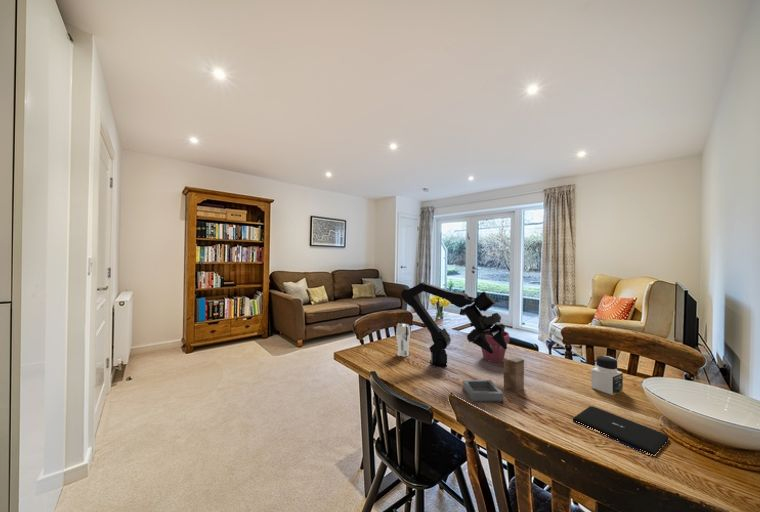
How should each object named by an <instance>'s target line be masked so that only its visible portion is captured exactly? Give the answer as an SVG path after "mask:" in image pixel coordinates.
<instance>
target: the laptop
mask: <svg viewBox="0 0 760 512" xmlns="http://www.w3.org/2000/svg"><path fill="white" fill-rule="evenodd" d="M572 420H573V421H572V423H573V422H575V423H578V422H580V423H578V424H580V425H583V424H584V425H583V426H585V425H586V426H585V427H587V426H589V427H588V428H590V427H591V429H592V428H593V430H594V429H596V430H598V431H600V433H601V432H602V433H601V434H603V433H605V434H603V435H606V434H607V435H606V436H607V437H609V438H611V439H614V440H616V441H619V442H620V443H622V444H624V445H623V446H625V445H626V446H625V447H627V446H629V447H631V448H634V449H636V450H638V451H641V452H644V451H646V452H644V453H647V452H648V454H649V453H650V455H651V454H653V455H655V454H656V453H657V452H658V451H659V449H660V448H661V447H662V446H663V445H664V444H665V442H667V441H668V442H669V440H668V439H669V436H668V435H667V434H666V433H663V432H661V431H659V430H656V429H653V428H651V427H648V426H646V425H644V424H641V423H638V422H636V421H633V420H631V419H628V418H624V417H622V416H619V415H617V414H615V413H612V412H609V411H606V410H604V409H602V408H599V407H595V406H591V405H590V406H588V407H587V408H586V409H584V410H583V411H581V412H579V413H578V414H577V415H575V416H574V417H573V418H572ZM576 421H577V422H576ZM575 423H574V424H575ZM581 423H582V424H581ZM578 424H577V425H578ZM580 425H579V426H580ZM608 435H609V436H608ZM607 437H606V438H607ZM609 438H608V439H609ZM611 439H610V440H611ZM617 439H618V440H617ZM616 441H615V442H616ZM668 442H667V443H668ZM620 443H619V444H620ZM622 444H621V445H622ZM665 445H666V444H665ZM665 445H664V446H665ZM629 447H628V448H629ZM631 448H630V449H631ZM634 449H633V450H634ZM640 449H641V450H640ZM636 450H635V451H636ZM642 450H643V451H642ZM638 451H637V452H638ZM659 452H660V451H659Z"/></svg>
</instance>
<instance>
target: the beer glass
mask: <svg viewBox="0 0 760 512" xmlns="http://www.w3.org/2000/svg"><path fill="white" fill-rule="evenodd" d="M395 334H396V335H395V336H396V337H395V338H396V342H397V343H396V344H397V354H396V355H397V356H398V357H400V356H402V357H401V358H405V356H407V357H409V356H410V350H409V345H410V340H411V327H410V324H408V323H398V324H396V332H395Z"/></svg>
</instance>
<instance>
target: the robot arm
mask: <svg viewBox="0 0 760 512" xmlns="http://www.w3.org/2000/svg"><path fill="white" fill-rule="evenodd" d="M423 292H425V293H427V294H429V295H433V296H435V297H439V298H441V299H443V300H445V301H448V302H449V303H450V304H452V305H453V306H455V307H457V308H460V310H459V311H460V312H459V315H460V316H466V318H468V320H469V322H470V324H469V325H470V327H473V329H471V331H469V333H467V335H466V339H467V341H468V342H469V343H472V344H473V345H476V346H478V347H480V348H483V349H484V350H486V351H487V352H489V353H491V354H492V353H493V351H492V349H491V347H490V345H489V344H488V342H487V340H486V336H485V335H487V334H490V335H491V336H493V337H492V338H493V339H494V340H495V341H496V342H497V343H498V344H499V345H500V346H501V347H503V348H504V349H506V350H507V349H508V345H507V346H506V343H505V340H504V336H503V332H504V331H505V329H506V327H505V325H504V324H503V323H501V322H502V321H501V320H502V316H501V315H500V314H499V313H498V312H495V313H491V315H489V316H487V315H483V314H482V311H483V312H487V311H488V310H489V309H490V308H492V307H493V306H494V305H496V301H495V300H494V298H493V297H492V296H490V295H489V294H488V293H487V292H486V291H482V292H481V293H480V294H479V295H478V296H477V297H473V296H470V295H468V294H467V293H466V292H461V291H460V292H459V291H453V290H452V291H451V290H448V289H445V288H443V287H440V286H436V285H433V284H430V283H428V282H426V281H423V282H419V284H417V285H414V286H413V287H409V288H405V289H402V291H401V292H400V293H401V295H400V297H401V299H402V300H403V302H404V303H406V305H408V306H410V308H412V309H413V310H414V311H415V313H416V315H417V316H418V318H419V319H420V320H421V322H422V324H424V326H425V328H426V329H427V330H428V331H429V333H430V336H431V340H432V342H433V344H432V345H430V346H429V351H430V360H429V361H430V364H431V365H432V367H447V366H448V354H447V351H446V349H447V347H448V346H449V345H450V344H451V343H452V342H451V337H450V336H451V334H449V333H448V331H447V329H446V328H441V327H439V326H438V325H437V322H435V320H434V319H433V318H432V317H433V316H431V315H430V314H429V312H428V311H427V309H426V308H425V307H424V305H423V304H422V302H421V298H420V294H422V293H423ZM505 332H506V331H505Z"/></svg>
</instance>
